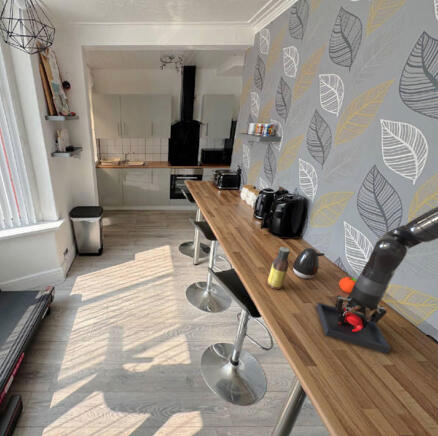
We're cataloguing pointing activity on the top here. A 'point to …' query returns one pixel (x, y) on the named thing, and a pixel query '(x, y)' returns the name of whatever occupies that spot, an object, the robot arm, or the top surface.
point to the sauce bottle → (279, 269)
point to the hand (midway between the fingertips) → (350, 324)
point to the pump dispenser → (307, 263)
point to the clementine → (347, 284)
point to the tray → (343, 331)
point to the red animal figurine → (354, 321)
